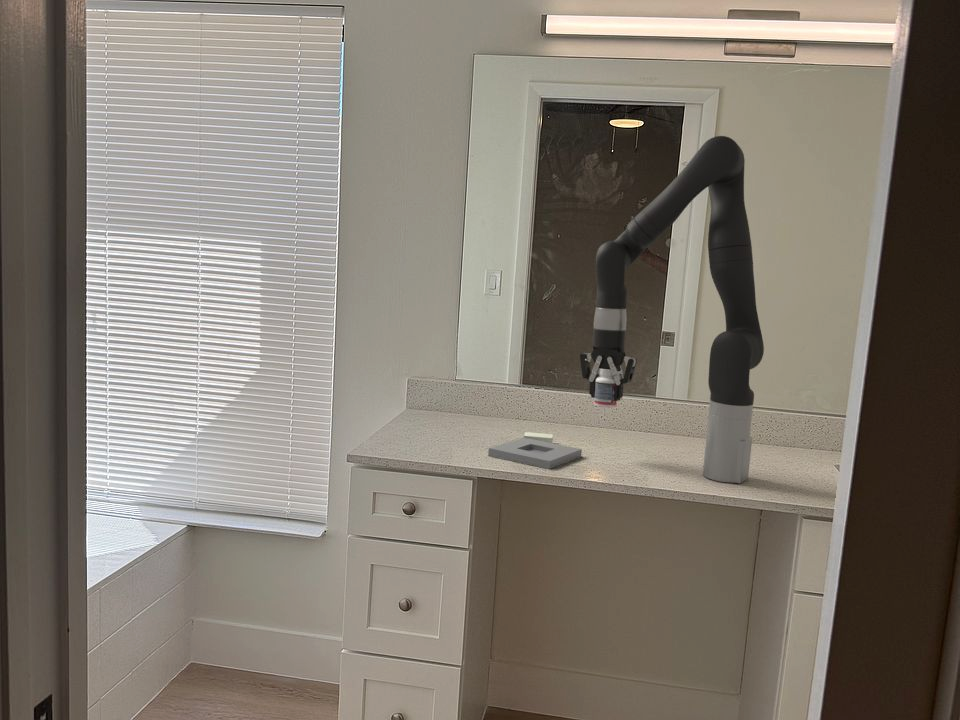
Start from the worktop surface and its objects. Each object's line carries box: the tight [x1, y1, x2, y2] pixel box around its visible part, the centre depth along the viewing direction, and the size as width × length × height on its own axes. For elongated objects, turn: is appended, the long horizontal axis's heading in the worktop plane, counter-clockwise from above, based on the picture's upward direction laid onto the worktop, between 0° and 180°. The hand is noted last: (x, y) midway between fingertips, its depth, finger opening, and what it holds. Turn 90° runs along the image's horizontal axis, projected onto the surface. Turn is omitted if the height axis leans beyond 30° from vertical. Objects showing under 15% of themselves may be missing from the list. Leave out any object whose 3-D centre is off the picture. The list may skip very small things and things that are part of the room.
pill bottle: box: [593, 368, 618, 409], centre depth 202 cm, size 5×5×9 cm
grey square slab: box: [487, 436, 583, 470], centre depth 201 cm, size 16×16×2 cm
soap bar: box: [523, 431, 554, 443], centre depth 214 cm, size 7×4×2 cm, turn 83°
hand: (605, 398), depth 203 cm, fingers closed on pill bottle, 5 cm apart
